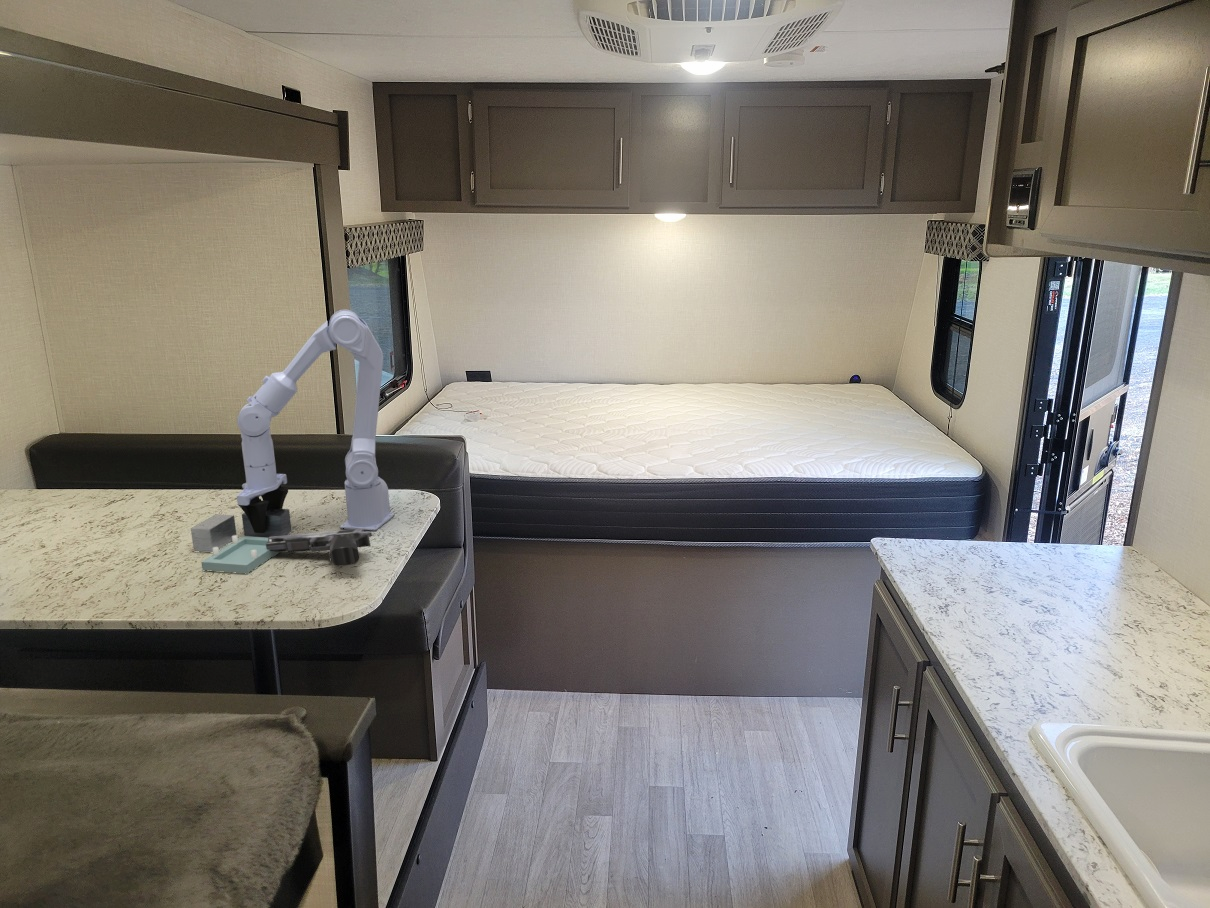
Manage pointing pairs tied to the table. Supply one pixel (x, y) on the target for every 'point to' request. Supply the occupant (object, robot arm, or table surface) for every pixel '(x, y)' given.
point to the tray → (239, 555)
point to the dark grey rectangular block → (270, 524)
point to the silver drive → (213, 532)
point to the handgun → (324, 544)
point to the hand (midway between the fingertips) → (267, 527)
